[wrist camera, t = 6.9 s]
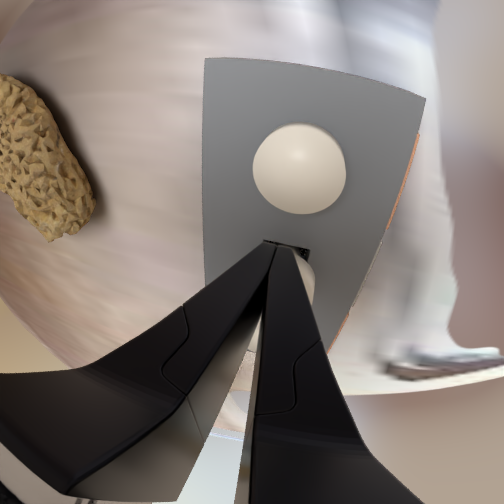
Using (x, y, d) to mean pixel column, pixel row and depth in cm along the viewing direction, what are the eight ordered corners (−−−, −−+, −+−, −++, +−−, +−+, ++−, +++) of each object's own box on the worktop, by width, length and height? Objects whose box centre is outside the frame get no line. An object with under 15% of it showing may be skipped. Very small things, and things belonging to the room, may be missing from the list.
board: (324, 342, 28) (321, 366, 26) (218, 317, 29) (208, 340, 27) (414, 92, 12) (430, 100, 10) (224, 57, 14) (204, 58, 12)
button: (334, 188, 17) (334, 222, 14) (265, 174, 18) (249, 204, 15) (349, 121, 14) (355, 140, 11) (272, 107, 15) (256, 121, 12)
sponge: (126, 184, 23) (18, 20, 10) (74, 252, 19) (-59, 68, 6) (71, 202, 30) (-11, 87, 17) (34, 250, 26) (-59, 130, 13)
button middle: (310, 282, 21) (303, 326, 18) (251, 269, 21) (236, 310, 18) (324, 233, 18) (321, 276, 15) (257, 219, 18) (239, 258, 15)
